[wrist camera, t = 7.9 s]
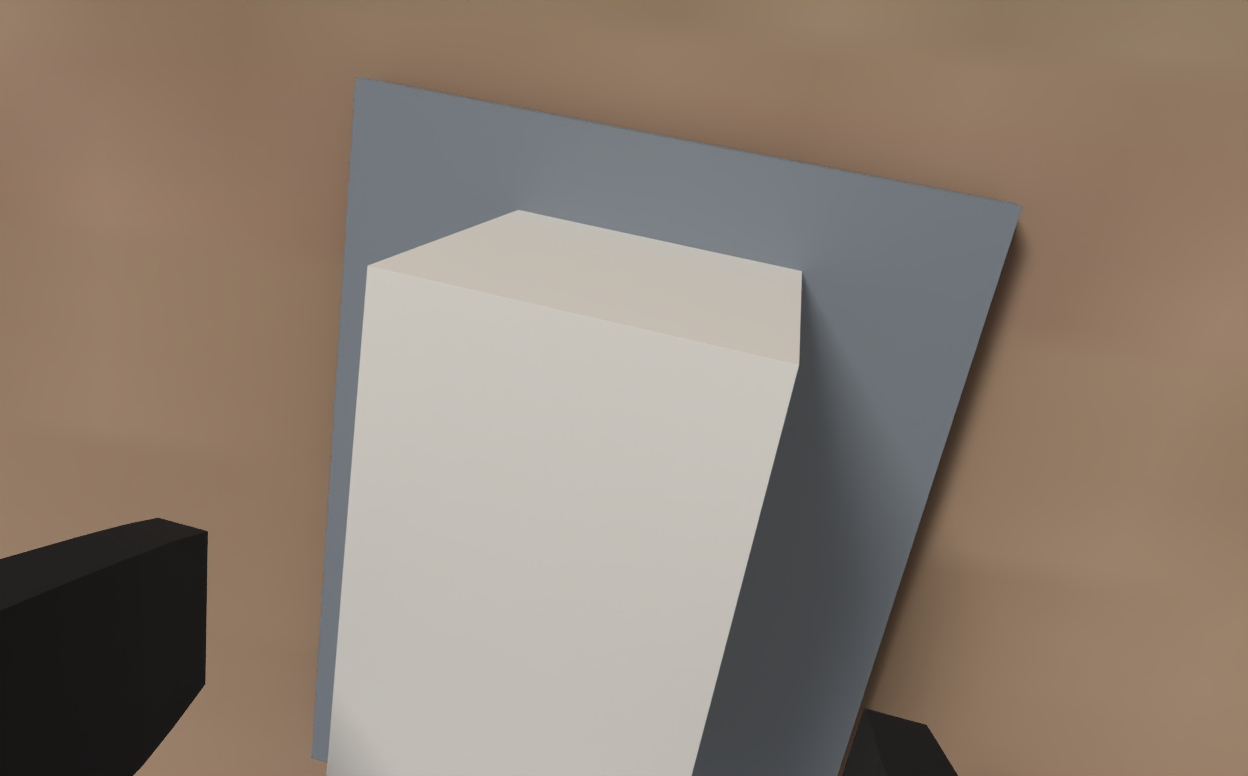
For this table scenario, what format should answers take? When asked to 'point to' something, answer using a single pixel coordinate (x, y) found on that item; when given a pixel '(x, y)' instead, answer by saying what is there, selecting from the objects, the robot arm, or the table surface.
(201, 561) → the robot arm
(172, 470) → the table surface
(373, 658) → the white rectangular block
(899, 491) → the mat
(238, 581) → the table surface
